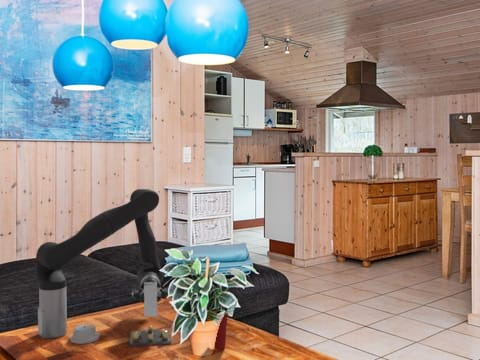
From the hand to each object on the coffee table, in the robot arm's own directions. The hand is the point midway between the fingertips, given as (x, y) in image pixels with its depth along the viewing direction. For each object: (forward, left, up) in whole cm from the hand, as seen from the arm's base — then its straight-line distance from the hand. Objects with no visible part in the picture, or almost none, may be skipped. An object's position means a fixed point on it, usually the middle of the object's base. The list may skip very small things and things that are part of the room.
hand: (150, 299), depth 175 cm
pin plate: (+1, +2, -15) cm, 15 cm away
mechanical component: (-18, +16, -15) cm, 28 cm away
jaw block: (+1, +2, -6) cm, 7 cm away
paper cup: (+16, -18, -15) cm, 28 cm away
